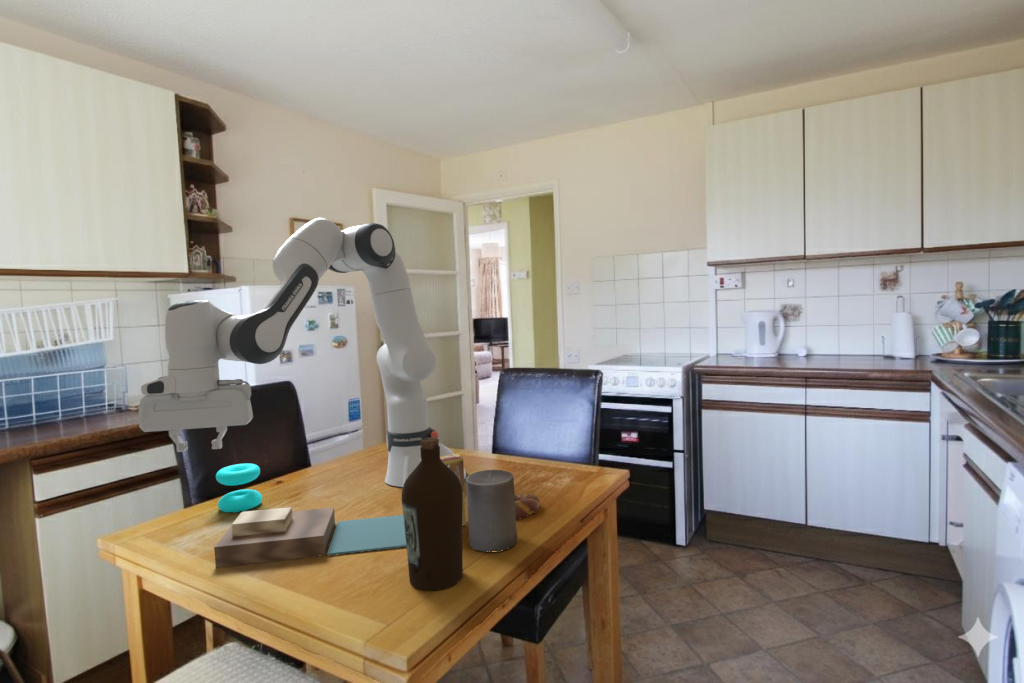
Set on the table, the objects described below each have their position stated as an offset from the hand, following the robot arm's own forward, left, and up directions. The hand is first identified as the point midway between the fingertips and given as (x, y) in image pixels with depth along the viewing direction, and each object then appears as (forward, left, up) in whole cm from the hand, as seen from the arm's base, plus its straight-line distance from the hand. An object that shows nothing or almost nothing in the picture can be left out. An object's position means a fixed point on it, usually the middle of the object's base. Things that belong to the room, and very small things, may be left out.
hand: (199, 449), depth 114 cm
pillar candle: (-57, +11, -21) cm, 62 cm away
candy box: (-48, 0, -21) cm, 53 cm away
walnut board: (-14, 0, -21) cm, 25 cm away
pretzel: (-65, -5, -22) cm, 69 cm away
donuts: (+1, -27, -21) cm, 34 cm away
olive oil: (-45, +23, -21) cm, 55 cm away
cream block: (-11, 0, -17) cm, 20 cm away
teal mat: (-32, 0, -21) cm, 39 cm away
